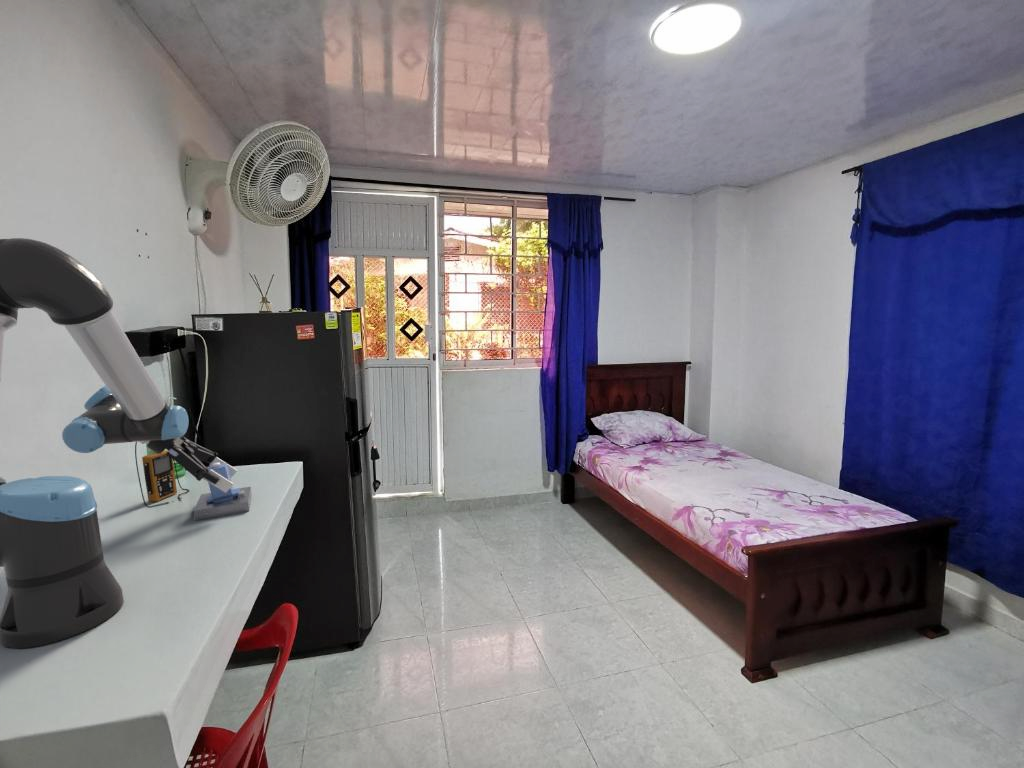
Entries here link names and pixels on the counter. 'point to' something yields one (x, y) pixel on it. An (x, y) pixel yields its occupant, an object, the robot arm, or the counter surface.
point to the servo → (216, 493)
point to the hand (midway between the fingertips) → (232, 481)
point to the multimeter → (159, 477)
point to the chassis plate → (223, 505)
